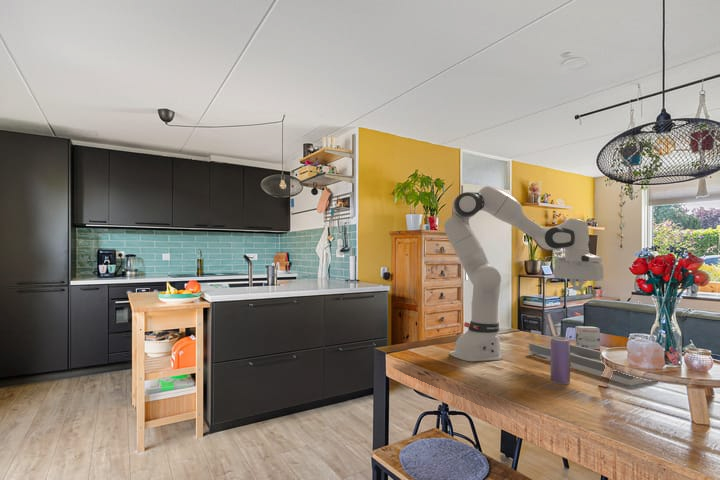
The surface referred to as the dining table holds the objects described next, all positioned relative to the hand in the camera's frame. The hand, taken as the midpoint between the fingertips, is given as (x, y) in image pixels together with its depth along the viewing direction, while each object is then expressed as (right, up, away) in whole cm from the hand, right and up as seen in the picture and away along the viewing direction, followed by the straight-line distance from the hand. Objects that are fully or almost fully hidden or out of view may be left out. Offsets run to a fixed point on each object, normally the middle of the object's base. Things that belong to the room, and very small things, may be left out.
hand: (577, 290), depth 161 cm
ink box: (+11, -30, +11) cm, 34 cm away
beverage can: (-22, -28, -28) cm, 46 cm away
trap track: (-1, -29, -9) cm, 30 cm away
